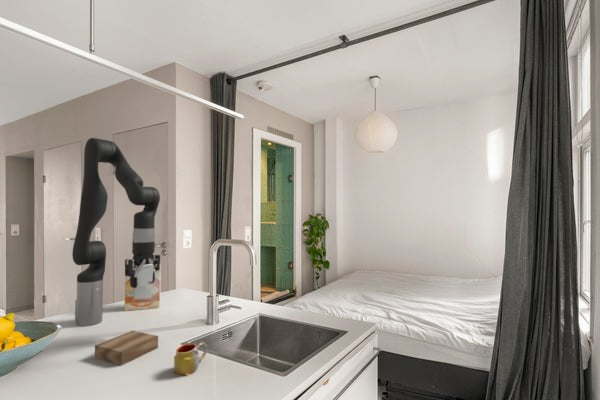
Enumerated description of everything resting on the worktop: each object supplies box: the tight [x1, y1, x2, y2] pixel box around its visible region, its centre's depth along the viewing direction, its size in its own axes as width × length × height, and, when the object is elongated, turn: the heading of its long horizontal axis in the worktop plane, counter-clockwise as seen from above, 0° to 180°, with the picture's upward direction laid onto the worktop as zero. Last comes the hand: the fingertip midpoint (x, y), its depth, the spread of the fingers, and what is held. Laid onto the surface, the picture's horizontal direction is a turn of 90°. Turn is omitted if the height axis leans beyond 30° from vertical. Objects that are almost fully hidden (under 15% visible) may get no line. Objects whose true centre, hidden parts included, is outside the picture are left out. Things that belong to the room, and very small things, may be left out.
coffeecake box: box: [124, 264, 162, 312], centre depth 161 cm, size 15×7×20 cm, turn 111°
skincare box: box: [133, 264, 153, 299], centre depth 125 cm, size 6×4×12 cm
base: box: [94, 330, 159, 366], centre depth 111 cm, size 12×14×4 cm
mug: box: [173, 341, 208, 377], centre depth 102 cm, size 12×7×7 cm, turn 150°
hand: (142, 285), depth 125 cm, fingers closed on skincare box, 7 cm apart
